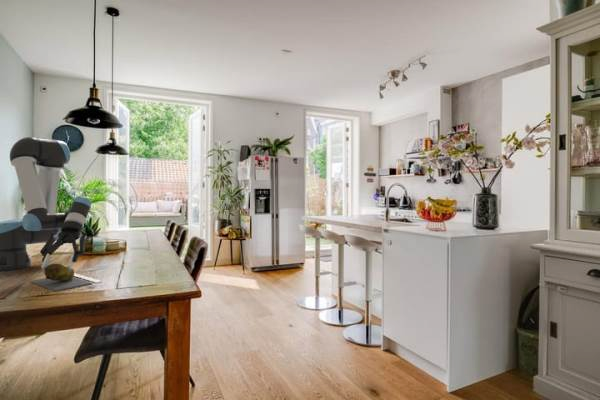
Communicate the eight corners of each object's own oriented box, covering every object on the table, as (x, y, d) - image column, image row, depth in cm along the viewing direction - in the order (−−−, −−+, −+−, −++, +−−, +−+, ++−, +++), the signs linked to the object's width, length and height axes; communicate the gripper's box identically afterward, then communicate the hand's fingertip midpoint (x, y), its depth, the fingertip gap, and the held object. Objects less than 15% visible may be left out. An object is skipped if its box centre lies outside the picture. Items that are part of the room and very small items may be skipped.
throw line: (68, 274, 156) (68, 274, 156) (74, 273, 158) (74, 273, 158) (96, 283, 143) (96, 282, 143) (102, 281, 145) (102, 281, 145)
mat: (29, 281, 144) (29, 280, 144) (64, 275, 155) (64, 274, 155) (55, 291, 131) (55, 290, 131) (91, 284, 141) (91, 282, 141)
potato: (83, 278, 147) (82, 260, 147) (51, 286, 135) (51, 266, 135) (69, 276, 150) (69, 258, 150) (38, 284, 138) (37, 264, 138)
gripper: (101, 230, 159) (88, 272, 144) (49, 230, 155) (30, 274, 140) (97, 219, 154) (82, 262, 139) (43, 219, 150) (22, 264, 134)
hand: (56, 268), depth 139 cm, fingers open, 8 cm apart
